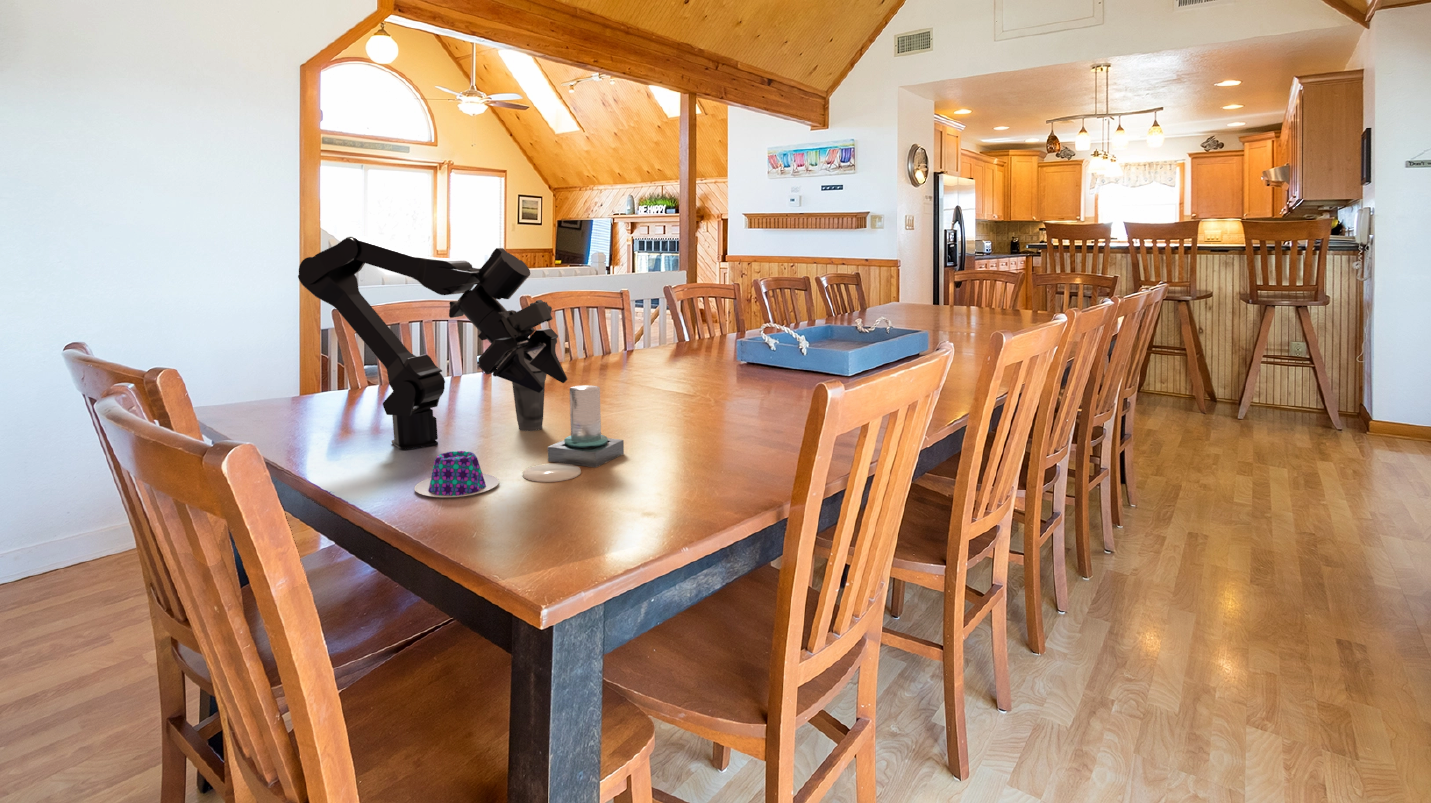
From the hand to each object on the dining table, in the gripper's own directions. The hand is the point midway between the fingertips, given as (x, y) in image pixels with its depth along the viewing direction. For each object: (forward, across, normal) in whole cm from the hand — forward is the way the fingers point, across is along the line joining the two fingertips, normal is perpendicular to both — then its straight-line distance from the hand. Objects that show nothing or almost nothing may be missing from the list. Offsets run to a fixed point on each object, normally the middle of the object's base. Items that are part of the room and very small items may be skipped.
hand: (554, 385), depth 132 cm
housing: (+12, 0, +5) cm, 13 cm away
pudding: (+4, -20, +14) cm, 25 cm away
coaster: (+11, -10, +6) cm, 16 cm away
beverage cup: (-1, +17, +18) cm, 25 cm away
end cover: (+12, 0, +5) cm, 13 cm away
